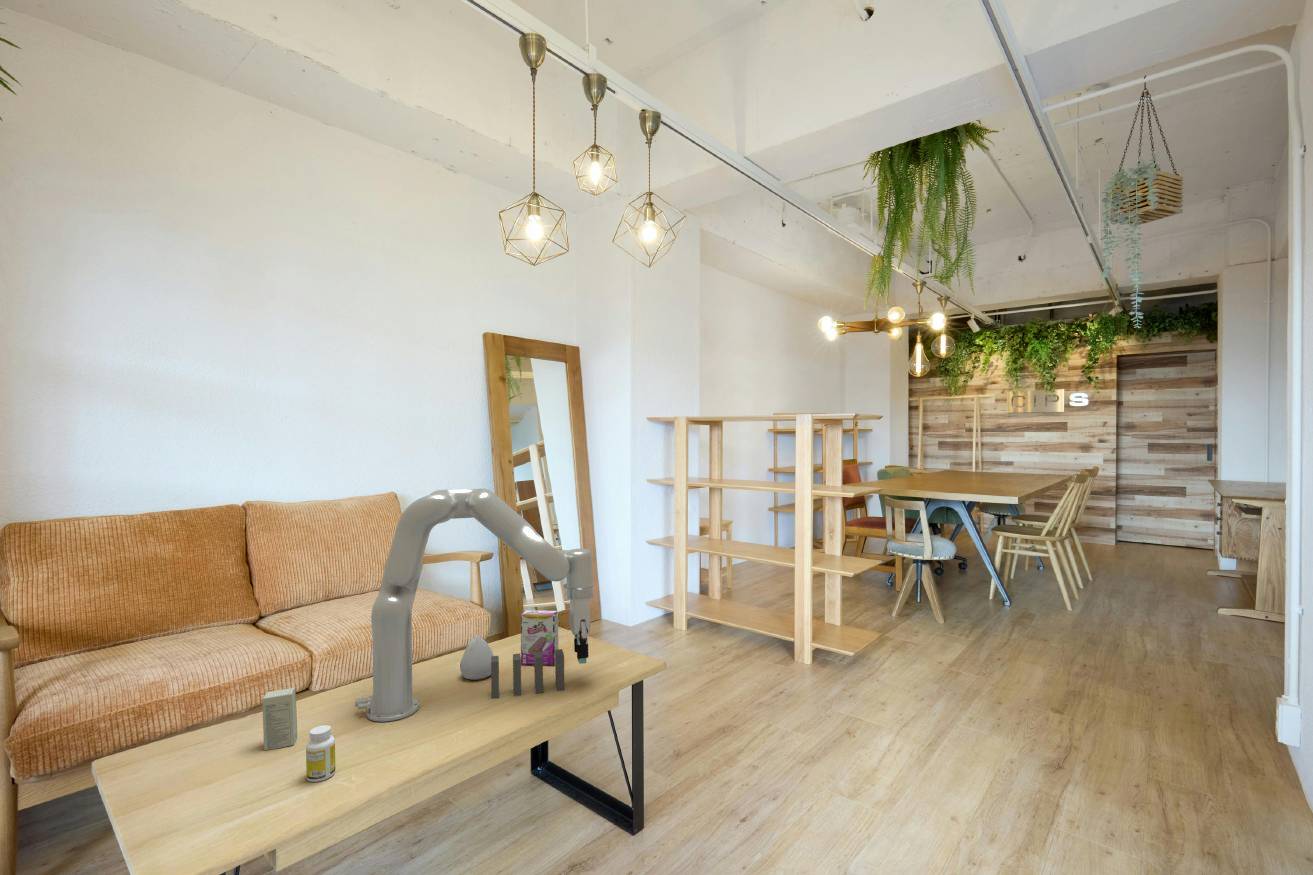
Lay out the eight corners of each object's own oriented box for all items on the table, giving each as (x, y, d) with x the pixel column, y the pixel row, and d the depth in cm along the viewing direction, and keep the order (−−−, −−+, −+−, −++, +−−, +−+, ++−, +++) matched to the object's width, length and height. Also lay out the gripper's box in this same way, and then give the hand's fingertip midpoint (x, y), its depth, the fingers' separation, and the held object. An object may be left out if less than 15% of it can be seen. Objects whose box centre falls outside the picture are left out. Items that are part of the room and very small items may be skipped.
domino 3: (535, 693, 168) (535, 657, 168) (534, 686, 173) (534, 651, 173) (543, 692, 169) (542, 656, 169) (541, 685, 174) (541, 651, 174)
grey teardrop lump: (456, 673, 184) (456, 634, 184) (491, 667, 189) (490, 629, 189) (463, 685, 175) (462, 644, 175) (499, 678, 180) (498, 638, 180)
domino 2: (513, 696, 167) (513, 659, 167) (513, 689, 172) (512, 654, 172) (521, 695, 167) (520, 659, 167) (520, 688, 172) (520, 653, 172)
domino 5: (579, 663, 172) (578, 628, 172) (577, 657, 177) (576, 623, 177) (586, 662, 172) (585, 628, 172) (583, 657, 177) (583, 623, 177)
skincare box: (297, 737, 144) (297, 686, 145) (294, 745, 140) (293, 693, 141) (266, 742, 142) (266, 690, 142) (262, 751, 138) (261, 697, 138)
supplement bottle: (327, 766, 131) (327, 721, 131) (340, 773, 128) (340, 727, 128) (301, 777, 127) (301, 730, 127) (314, 785, 124) (313, 737, 124)
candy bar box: (520, 665, 190) (519, 613, 190) (525, 660, 195) (524, 609, 195) (555, 666, 189) (554, 614, 189) (559, 660, 194) (558, 609, 194)
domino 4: (557, 690, 170) (557, 655, 170) (555, 684, 175) (555, 649, 175) (564, 689, 170) (564, 654, 171) (562, 683, 175) (562, 648, 175)
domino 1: (491, 698, 165) (491, 662, 165) (491, 691, 170) (491, 656, 170) (499, 697, 166) (498, 661, 166) (498, 690, 170) (498, 655, 171)
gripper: (563, 586, 182) (564, 646, 182) (570, 600, 165) (572, 666, 165) (588, 584, 184) (589, 643, 184) (597, 597, 167) (599, 663, 167)
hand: (581, 653), depth 174 cm, fingers closed on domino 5, 4 cm apart
